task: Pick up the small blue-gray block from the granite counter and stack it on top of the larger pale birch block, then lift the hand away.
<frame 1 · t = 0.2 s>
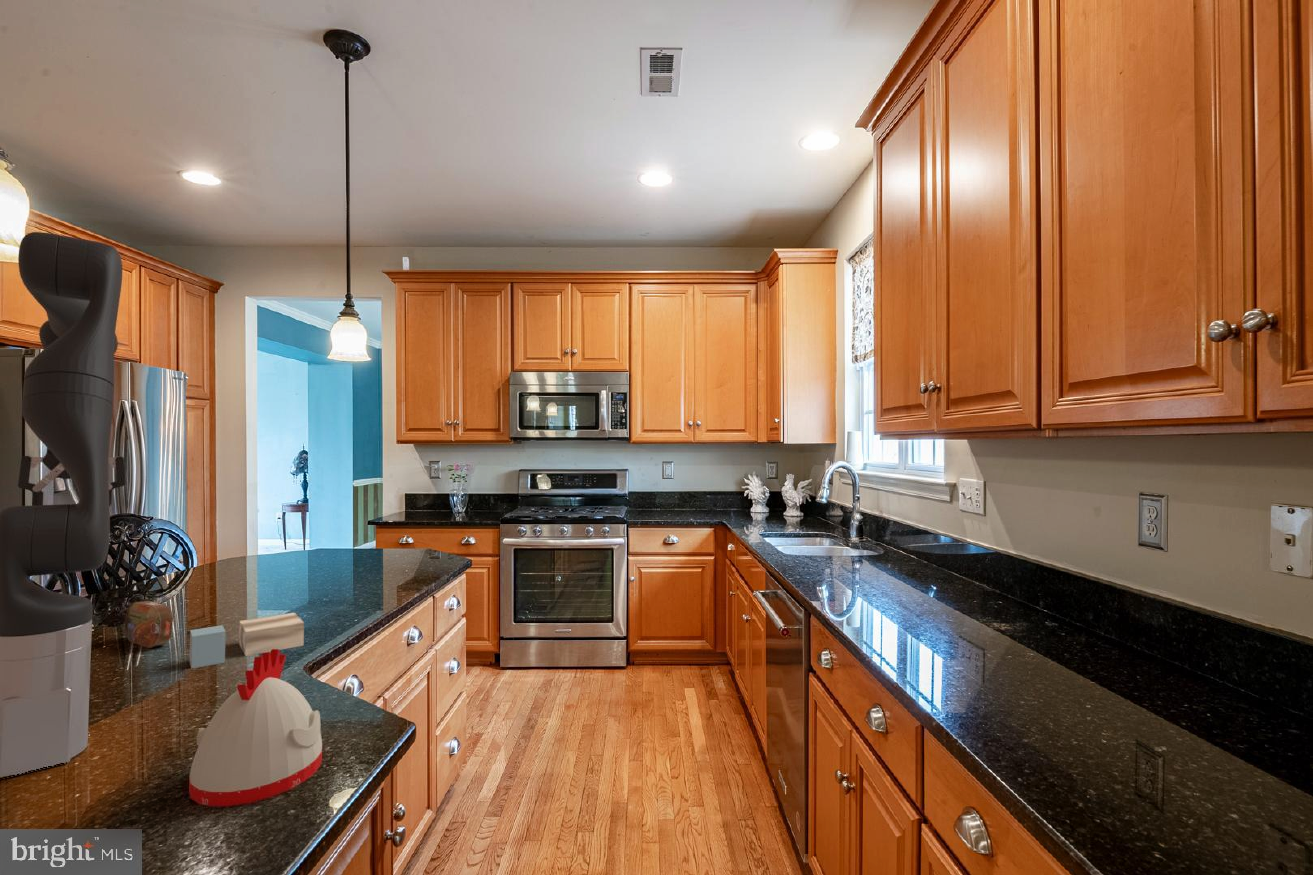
hand: (72, 510, 110), 29 cm above the counter, tool pointing down, fingers open, 8 cm apart
kitchen timer: (258, 775, 74), on the counter
blue-gray block: (207, 662, 112), on the counter
birch block: (271, 645, 122), on the counter
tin: (148, 644, 122), on the counter
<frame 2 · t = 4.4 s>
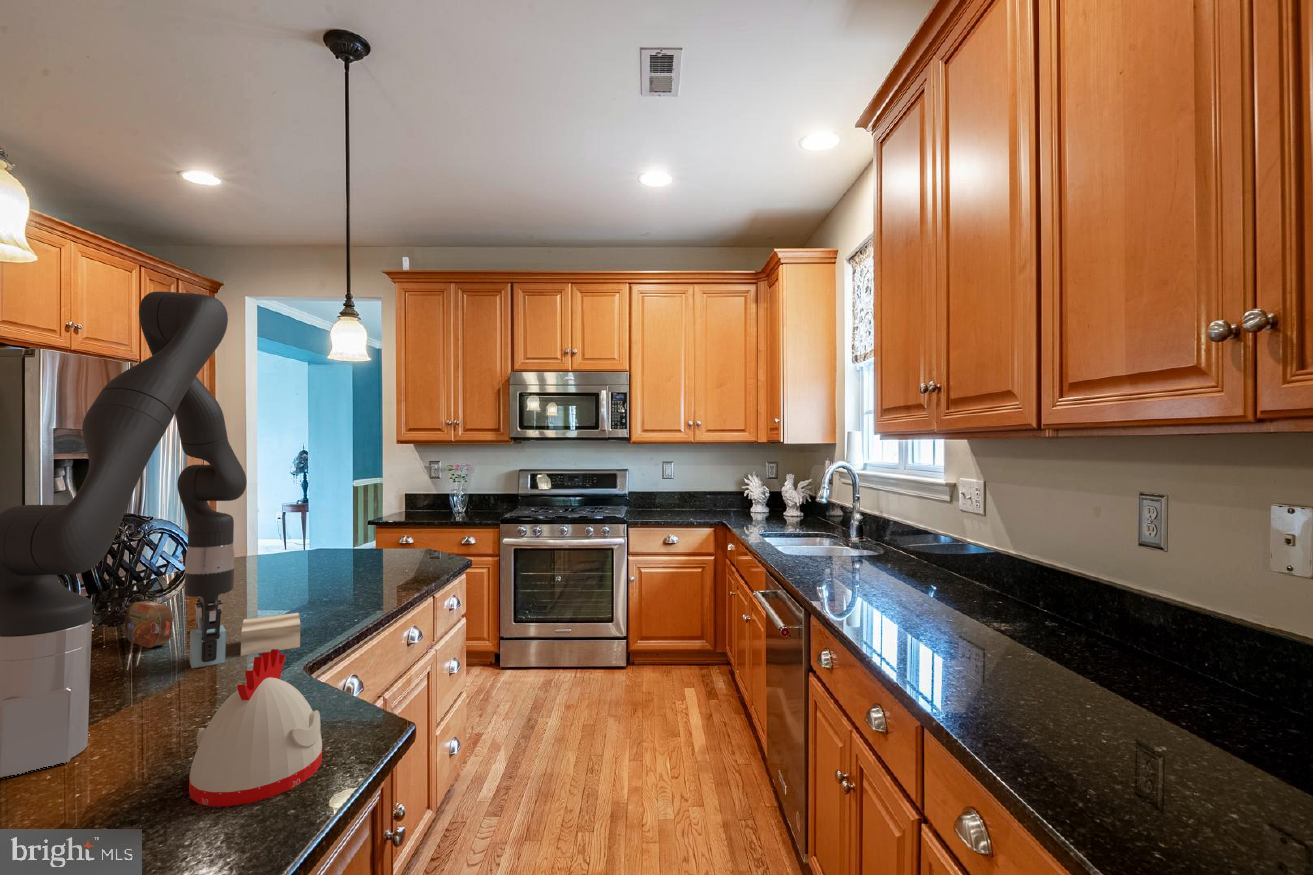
hand: (207, 656, 112), 1 cm above the counter, tool pointing down, fingers closed on blue-gray block, 5 cm apart
blue-gray block: (207, 661, 112), on the counter, touching gripper
when the fingers open (7 cm above the counter, at t = 9.8 s): blue-gray block drops 2 cm, resting on birch block.
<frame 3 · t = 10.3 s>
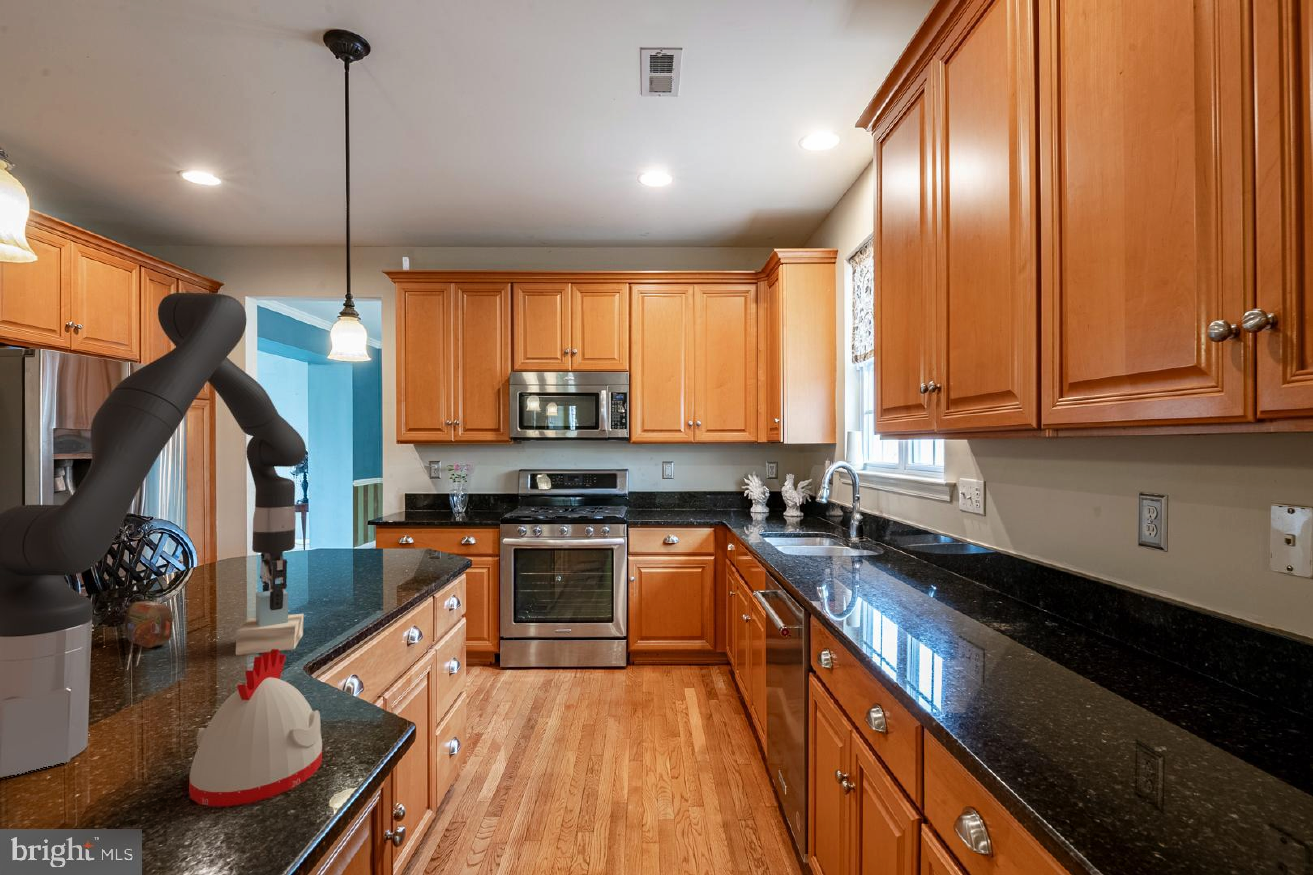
hand: (272, 605, 122), 8 cm above the counter, tool pointing down, fingers open, 8 cm apart
blue-gray block: (271, 621, 122), point 5 cm above the counter, touching birch block
birch block: (271, 645, 122), on the counter, touching blue-gray block
everything else where it was.
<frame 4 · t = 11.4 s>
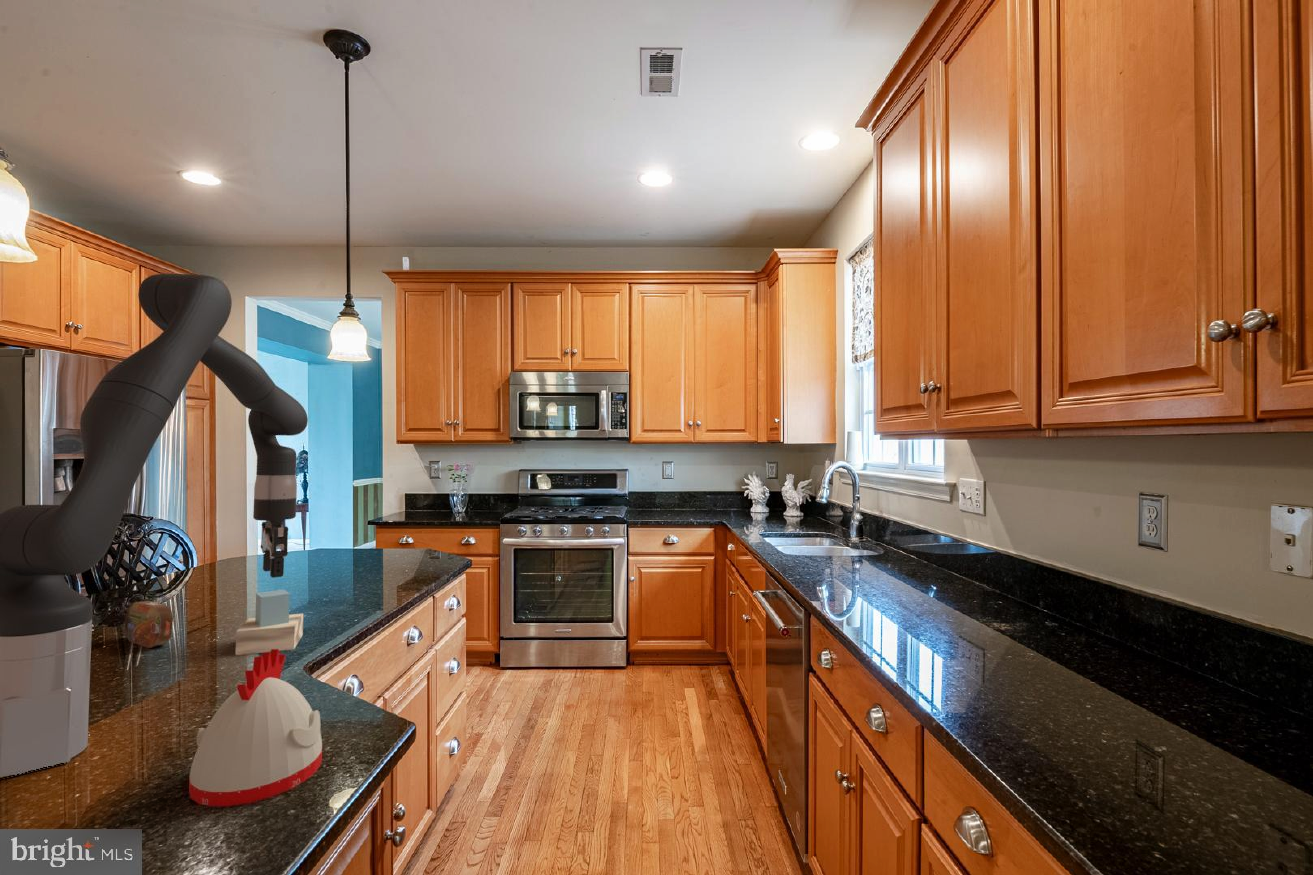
hand: (272, 573, 122), 15 cm above the counter, tool pointing down, fingers open, 8 cm apart
blue-gray block: (272, 622, 122), point 5 cm above the counter
birch block: (270, 645, 122), on the counter
everything else where it was.
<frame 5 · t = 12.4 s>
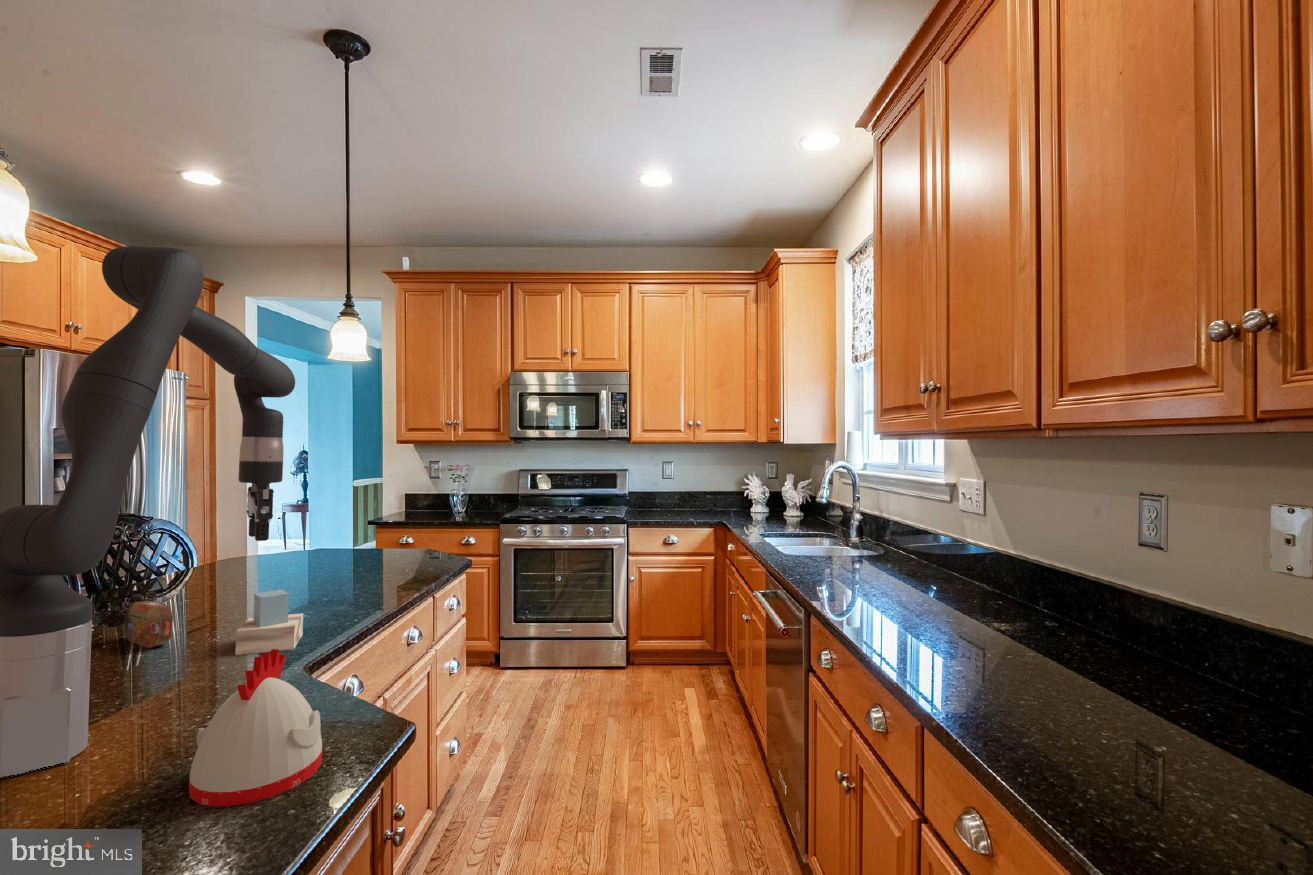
hand: (258, 538, 119), 23 cm above the counter, tool pointing down, fingers open, 8 cm apart
blue-gray block: (270, 622, 122), point 5 cm above the counter, touching birch block
birch block: (270, 645, 122), on the counter, touching blue-gray block
everything else where it was.
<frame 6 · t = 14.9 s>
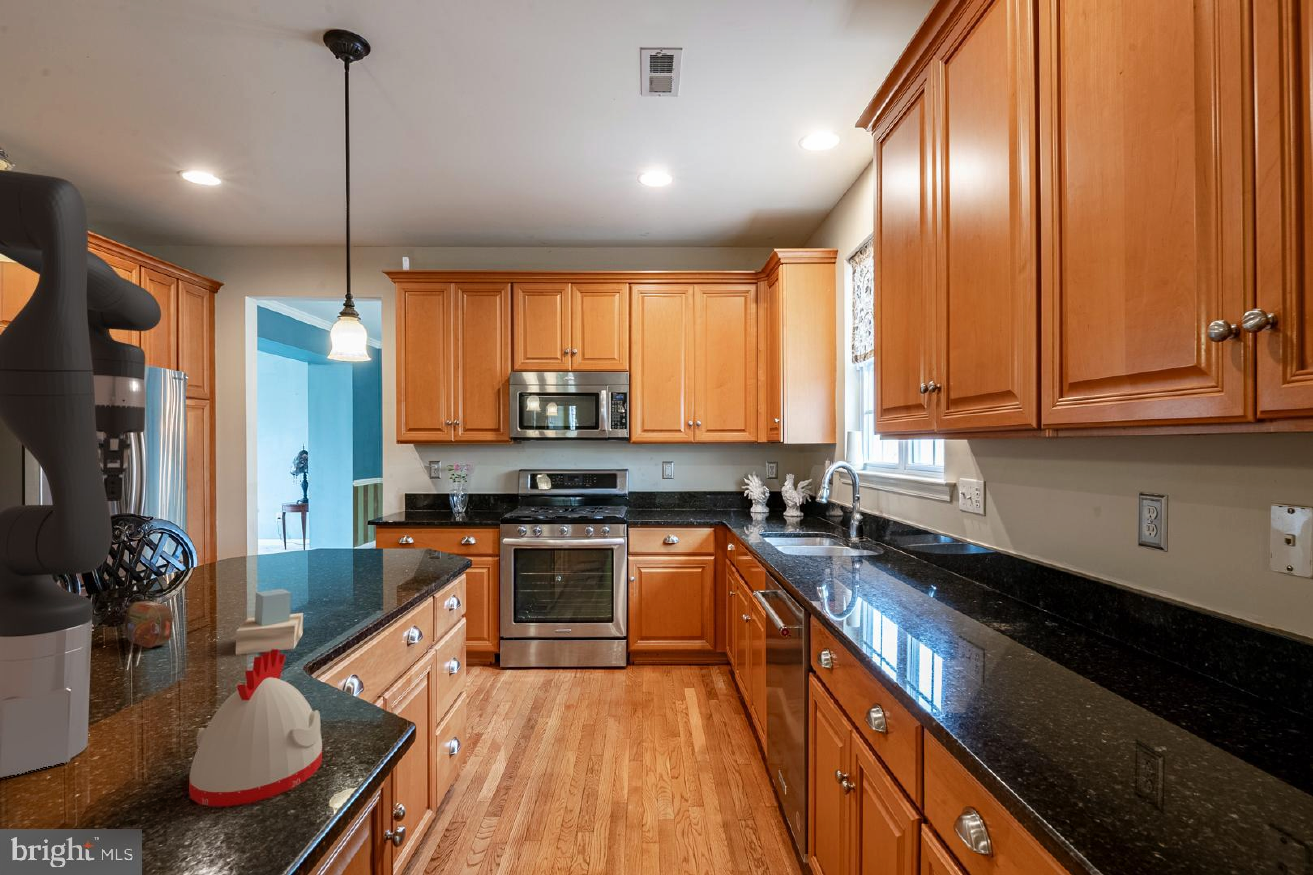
hand: (112, 499, 99), 32 cm above the counter, tool pointing down, fingers open, 8 cm apart
blue-gray block: (272, 621, 122), point 5 cm above the counter
birch block: (270, 645, 122), on the counter
everything else where it was.
at the end: blue-gray block 0.1 cm off-centre on the birch block, point 5.1 cm above the birch block's base; blue-gray block tilted 1°; the gripper is holding nothing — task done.
